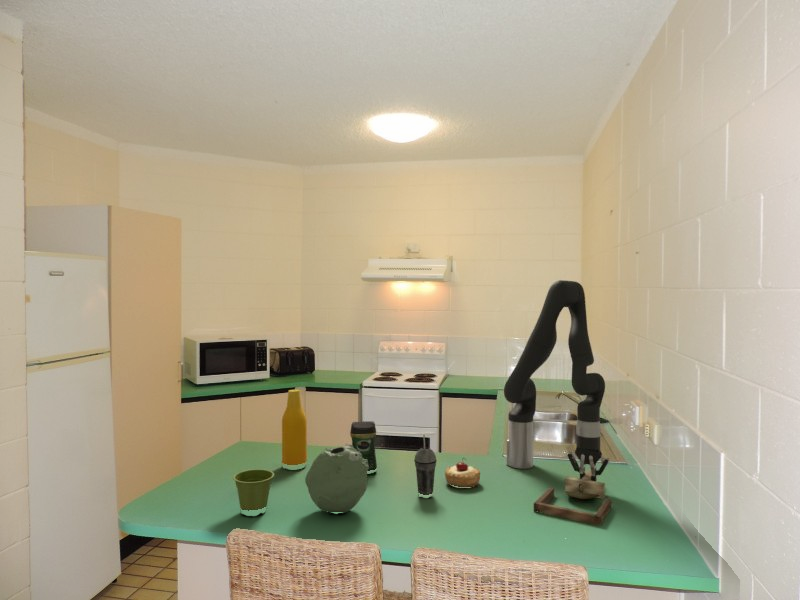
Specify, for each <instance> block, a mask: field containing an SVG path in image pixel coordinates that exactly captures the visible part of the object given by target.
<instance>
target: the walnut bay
mask: <svg viewBox="0 0 800 600" xmlns="http://www.w3.org/2000/svg"><path fill="white" fill-rule="evenodd" d="M554 497H555V488H554V487H549V488H547V489H546V490H545V492H544V493H542V494H541V495H540V496H539V497H538V498H537V499H536V500H535V501H534V502H533V512H534V511H538V512H542V513H541V514H543V513H546V514H545V515H547V514H550V515H549V516H552V515H553V516H552V517H557V518H562V519H566V520H571V521H576V522H581V523H585V524H589V525H593V526H599V527H600V526H601V525H602V523H603V521H604V520H605V519H606V517H607V515H608V513H610V511H611V509H612V499H611V498H606V497H605V498H604V501H602V502H603V503H602V504H601V505H600V506H599V508H598V509H597V511H596V513H593V512H588V511H583V510H578V509H574V508H567V507H564V506H558V505H553V504H549V502H550V501H551V500H552V499H553V498H554ZM538 512H537V513H538Z"/></svg>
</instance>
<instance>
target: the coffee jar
mask: <svg viewBox="0 0 800 600" xmlns="http://www.w3.org/2000/svg"><path fill="white" fill-rule="evenodd" d="M349 434H350V435H349V436H350V438H351V445H353V448H355V449H356V450H357V451H360V453H361V454H362V458H364V459H367V460H368V466H369V469H368V471H370V470H375V469H376V468H377V469H378V464H377V457H376V456H377V455H376V445H375V444H376V443H375V438H376V436H377V428H376V423H375V421H370V420H369V421H366V420H365V421H353V422H352V423H351V426H350V433H349Z"/></svg>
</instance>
